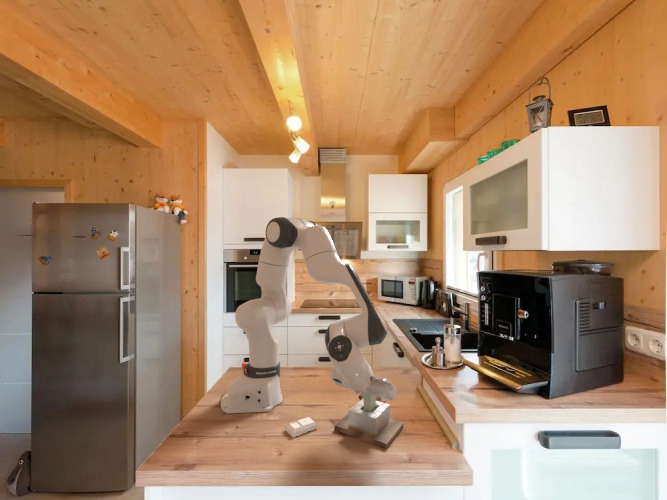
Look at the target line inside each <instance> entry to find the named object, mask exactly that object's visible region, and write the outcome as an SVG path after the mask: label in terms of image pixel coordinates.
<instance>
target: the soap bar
mask: <svg viewBox="0 0 667 500" xmlns="http://www.w3.org/2000/svg"><path fill="white" fill-rule="evenodd" d="M316 428H318V429H319V424H318V423H317V422H316V421H315V420H313V419H312V418H311V417H309V416H307V417H304V418H301V419H298V420H295V421H292V422H288V423H287V424H286V425H285V431H286V432H287V433H288V434H289V435H290V436H291V437H292V438H297V437H299V436H302V435H304V434H303V433H305V434H307V433H306V432H308V431H311V430H313V431H315V430H314V429H316ZM316 430H317V429H316ZM311 432H312V431H311ZM308 433H309V432H308ZM301 434H302V435H301ZM296 436H297V437H296Z"/></svg>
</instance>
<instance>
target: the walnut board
mask: <svg viewBox="0 0 667 500" xmlns="http://www.w3.org/2000/svg"><path fill="white" fill-rule="evenodd" d="M403 428H404V422H403V421H400V420H396V419H392V418H390V421H389V422H388V423H387V424H386V426H385V427H384V428H383V429H382V430H381V431H380V432H379V433H378V435H377V436H376V437H375V436H372V435H369V434H366V433H363V432H360V431H358V430H355V429H352V428H349V412H348V413H347V414H346V415H345V416H344V417H342V418H341V419H340V420H339V421H338V422H337V423H335V424H334V431H336V430H337V431H336V432H338V433H341V432H342V434H344V433H345V435H347V434H348V435H347V436H350V435H351V436H350V437H352V436H354V437H353V438H355V437H356V439H358V438H359V439H358V440H361V441H363V440H364V442H366V443H369V444H372V445H374V446H378V447H379V448H380V447H381V448H382V449H386V450H387V449H388V448H389V447H390V445H391V444H392V443H393V441H394V440H395V439H396V438H397V436H398V435H399V434H400V433H401V431H403Z"/></svg>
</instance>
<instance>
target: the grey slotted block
mask: <svg viewBox="0 0 667 500" xmlns="http://www.w3.org/2000/svg"><path fill="white" fill-rule="evenodd" d="M390 407H391V404H390V403H386V402H385V403H383V402H379V401H376V410H375V411H374V412H373V413H370V412H367V411H364V398H363V399H360V401H358V402H357V403H356V404H354V405H353V406H352V407H351V408H350V409H348V413H349V428H352V429H355V430H358V431H360V432H363V433H366V434H369V435H372V436H375V437H376V436H377V435H378V433H379V432H380V431H381V430H382V429H383V428H384V427H385V426H386V424H387V423H388V422H389V421H390V419H391V416H390V414H391V413H390V412H391V408H390Z"/></svg>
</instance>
